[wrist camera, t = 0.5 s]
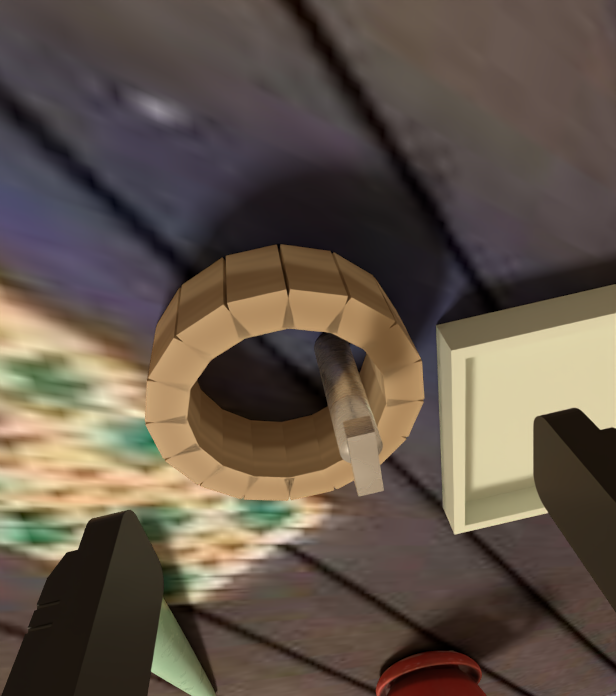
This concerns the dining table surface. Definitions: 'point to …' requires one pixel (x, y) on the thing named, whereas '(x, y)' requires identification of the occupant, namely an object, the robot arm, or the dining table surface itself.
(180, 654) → the mint green cone
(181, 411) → the wooden ring
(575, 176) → the dining table surface
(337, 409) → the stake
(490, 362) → the tray
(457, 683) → the plant pot
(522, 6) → the dining table surface
